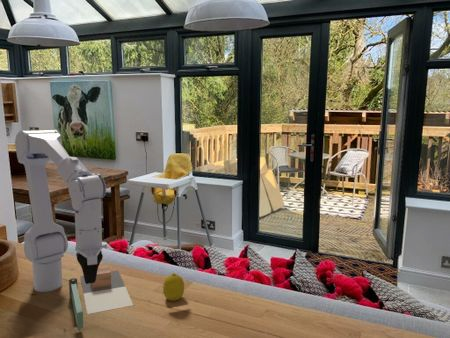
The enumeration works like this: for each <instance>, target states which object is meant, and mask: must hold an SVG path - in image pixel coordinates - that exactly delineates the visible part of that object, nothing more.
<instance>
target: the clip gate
mask: <svg viewBox="0 0 450 338" xmlns="http://www.w3.org/2000/svg"><path fill="white" fill-rule="evenodd" d="M77 287H78V284H77V285H76V284H71V294H72V300H71V302H72V307H73V312H74V313H73V314H74V317H75V322H76V329H77V330H82V329H84V311H83V307H82V301H81V299H80V298H81V297H80V295H79V290H78V289H77Z"/></svg>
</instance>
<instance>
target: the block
mask: <svg viewBox="0 0 450 338" xmlns="http://www.w3.org/2000/svg"><path fill="white" fill-rule="evenodd" d="M111 271H112V270H111V268H110V266H109V265H101V266H100V265H99V267H98V270H97V276H96V281H95V283H91V285H92V289H94V288H100V287H106V286H111Z"/></svg>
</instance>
